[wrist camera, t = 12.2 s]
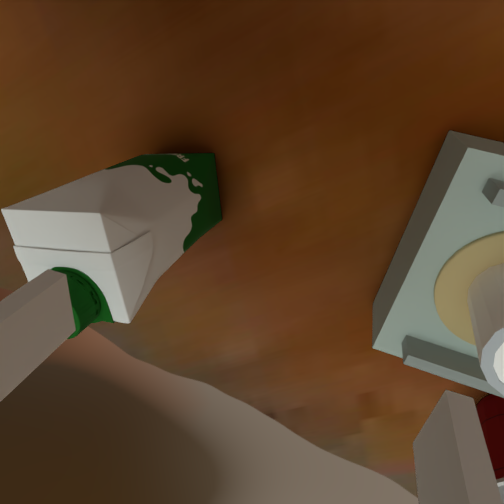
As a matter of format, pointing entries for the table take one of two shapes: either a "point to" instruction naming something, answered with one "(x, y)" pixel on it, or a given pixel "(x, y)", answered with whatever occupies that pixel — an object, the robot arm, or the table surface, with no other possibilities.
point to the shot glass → (489, 323)
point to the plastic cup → (494, 434)
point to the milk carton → (117, 230)
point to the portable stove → (445, 263)
